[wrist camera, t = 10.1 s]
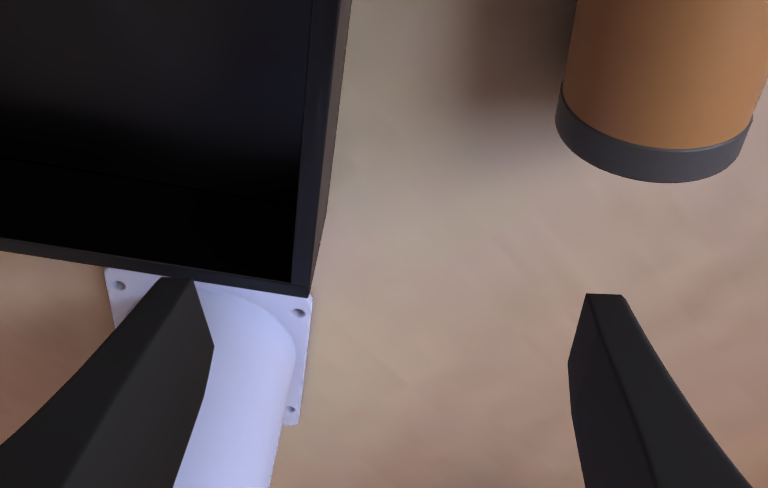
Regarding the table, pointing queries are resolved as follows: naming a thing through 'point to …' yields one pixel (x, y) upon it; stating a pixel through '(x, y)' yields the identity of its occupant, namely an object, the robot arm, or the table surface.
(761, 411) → the table surface
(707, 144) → the tube
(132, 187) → the tray
